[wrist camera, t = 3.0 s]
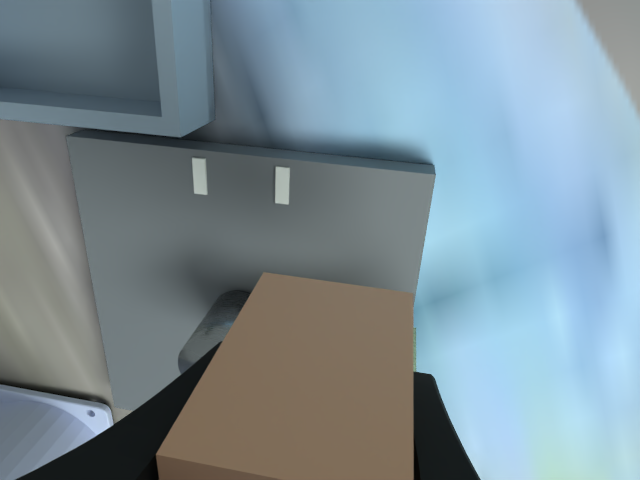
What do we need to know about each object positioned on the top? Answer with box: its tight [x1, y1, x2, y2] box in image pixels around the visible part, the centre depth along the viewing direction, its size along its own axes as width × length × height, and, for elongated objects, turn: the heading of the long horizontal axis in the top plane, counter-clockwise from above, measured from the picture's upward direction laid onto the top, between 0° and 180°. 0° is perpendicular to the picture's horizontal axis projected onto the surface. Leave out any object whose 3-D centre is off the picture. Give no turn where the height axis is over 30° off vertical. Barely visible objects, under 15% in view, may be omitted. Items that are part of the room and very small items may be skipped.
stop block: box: [156, 272, 414, 480], centre depth 11 cm, size 4×4×6 cm
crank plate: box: [66, 129, 436, 411], centre depth 21 cm, size 14×14×1 cm
